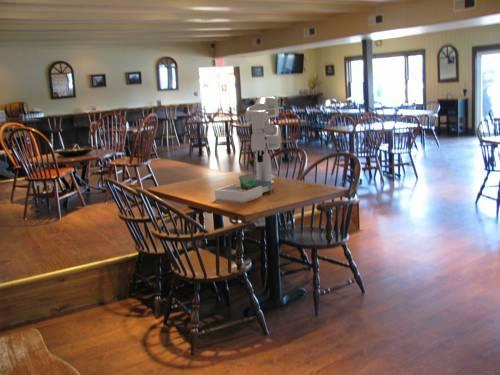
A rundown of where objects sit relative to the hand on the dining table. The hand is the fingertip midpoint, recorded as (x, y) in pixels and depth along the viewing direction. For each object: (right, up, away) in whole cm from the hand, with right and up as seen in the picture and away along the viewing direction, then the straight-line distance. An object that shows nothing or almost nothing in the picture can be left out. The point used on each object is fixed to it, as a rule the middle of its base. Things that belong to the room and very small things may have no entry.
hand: (260, 161), depth 311 cm
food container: (-6, -18, -8) cm, 20 cm away
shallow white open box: (-12, -22, -15) cm, 29 cm away
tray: (-7, -18, -7) cm, 21 cm away
